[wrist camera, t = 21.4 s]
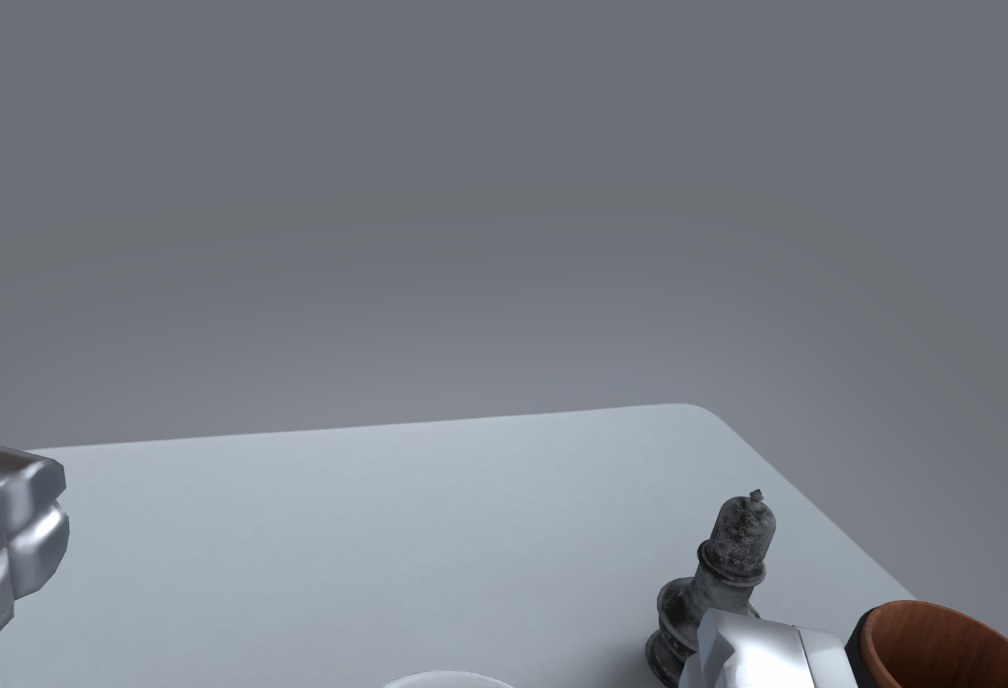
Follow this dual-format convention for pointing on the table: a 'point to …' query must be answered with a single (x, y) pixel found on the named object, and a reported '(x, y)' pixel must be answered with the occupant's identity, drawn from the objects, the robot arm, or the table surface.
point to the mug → (925, 649)
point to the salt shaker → (712, 583)
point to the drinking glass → (445, 680)
